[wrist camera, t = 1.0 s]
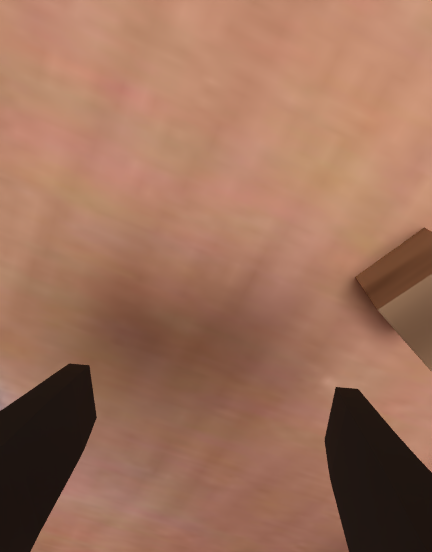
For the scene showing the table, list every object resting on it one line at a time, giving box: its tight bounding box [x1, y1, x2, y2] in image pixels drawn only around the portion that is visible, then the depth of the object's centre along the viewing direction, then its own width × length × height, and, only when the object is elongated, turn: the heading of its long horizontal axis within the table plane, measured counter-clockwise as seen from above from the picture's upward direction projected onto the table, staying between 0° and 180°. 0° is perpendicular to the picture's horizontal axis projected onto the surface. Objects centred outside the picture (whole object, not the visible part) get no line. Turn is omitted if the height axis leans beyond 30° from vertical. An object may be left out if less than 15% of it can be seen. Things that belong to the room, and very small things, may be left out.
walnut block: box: [356, 228, 432, 371], centre depth 17 cm, size 4×4×4 cm
